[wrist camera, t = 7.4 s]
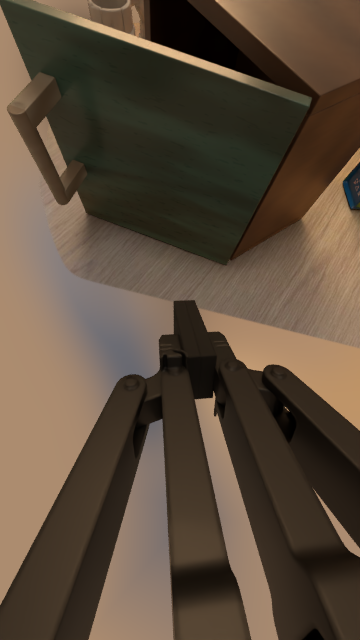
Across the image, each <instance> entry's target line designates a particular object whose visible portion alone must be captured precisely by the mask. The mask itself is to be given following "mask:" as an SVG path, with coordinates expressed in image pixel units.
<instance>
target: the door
mask: <svg viewBox="0 0 360 640" xmlns="http://www.w3.org/2000/svg"><path fill="white" fill-rule="evenodd" d="M0 5H1V8H2V10H3V13H4V15H5V18H6V20H7V22H8V25H9V27H10V29H11V32H12V34H13V37H14V39H15V42H16V44H17V47H18V49H19V51H20V54H21V56H22V59H23V61H24V63H25V66H26V68H27V71H28V73H29V76H30V78H31V80H32V81H31V82H30V83H29V84H28V85H27V86H26V87H25V88H24V89H23V90H22V91H21V92H20V93H19V95H18V96H17V97H16V98H15V99H14V100H13V101H12V102H11V103H10V104H9V105H8V107H7V111H8V113H9V114H10V116H11V118H12V120H13V122H14V124H15V126H16V127H17V129H18V131H19V133H20V135H21V137H22V138H23V140H24V142H25V144H26V146H27V147H28V149H29V151H30V153H31V155H32V157H33V159H34V160H35V162H36V164H37V166H38V168H39V169H40V171H41V173H42V175H43V177H44V179H45V181H46V182H47V184H48V186H49V188H50V190H51V192H52V193H53V195H54V197H55V199H56V201H57V203H59V204H60V205H65V204H67V203H68V202H69V201H70V199H71V198H72V197H73V195H74V194H75V192H76V191H77V192H78V194H79V196H80V199H81V201H82V204H83V206H84V208H85V211H86V213H88V214H91V215H94V216H96V217H99V218H101V219H104V220H107V221H109V222H112V223H115V224H117V225H120V226H123V227H125V228H128V229H131V230H133V231H136V232H139V233H141V234H144V235H147V236H149V237H152V238H155V239H157V240H160V241H163V242H165V243H168V244H171V245H173V246H176V247H179V248H181V249H184V250H187V251H189V252H192V253H195V254H197V255H200V256H203V257H205V258H208V259H211V260H213V261H216V262H219V263H221V264H224V265H227V263H228V261H229V259H230V257H231V255H232V253H233V251H234V250H235V248H236V246H237V244H238V242H239V240H240V238H241V236H242V234H243V232H244V231H245V229H246V227H247V225H248V223H249V221H250V219H251V217H252V215H253V213H254V212H255V210H256V208H257V206H258V204H259V202H260V200H261V198H262V196H263V194H264V193H265V191H266V189H267V187H268V185H269V183H270V181H271V179H272V177H273V175H274V174H275V172H276V170H277V168H278V166H279V164H280V162H281V160H282V158H283V156H284V155H285V153H286V151H287V149H288V147H289V145H290V143H291V141H292V139H293V137H294V136H295V134H296V132H297V130H298V128H299V126H300V124H301V122H302V120H303V118H304V117H305V115H306V113H307V111H308V109H309V107H310V104H311V100H312V98H311V97H308V96H305V95H303V94H300V93H297V92H294V91H291V90H288V89H285V88H283V87H280V86H277V85H274V84H271V83H268V82H265V81H262V80H260V79H257V78H254V77H251V76H248V75H245V74H242V73H240V72H237V71H234V70H231V69H228V68H225V67H222V66H219V65H217V64H214V63H211V62H208V61H205V60H202V59H199V58H196V57H194V56H191V55H188V54H185V53H182V52H179V51H176V50H174V49H171V48H168V47H165V46H162V45H159V44H156V43H153V42H151V41H148V40H145V39H142V38H139V37H136V36H133V35H131V34H128V33H125V32H122V31H119V30H116V29H113V28H110V27H108V26H105V25H102V24H99V23H96V22H93V21H90V20H87V19H85V18H82V17H79V16H76V15H73V14H70V13H67V12H65V11H62V10H59V9H56V8H53V7H50V6H47V5H44V4H41V3H39V2H36V1H33V0H0ZM45 116H46V117H47V119H48V121H49V124H50V126H51V129H52V131H53V134H54V136H55V138H56V141H57V143H58V146H59V148H60V150H61V153H62V155H63V158H64V160H65V163H66V165H67V168H66V170H65V171H64V173H63V174H62V175H61V177H59V175H58V173H57V171H56V169H55V167H54V164H53V162H52V160H51V158H50V156H49V154H48V152H47V149H46V147H45V145H44V143H43V141H42V139H41V137H40V135H39V132H38V131H37V128H36V127H37V126H38V125H39V124H40V122H41V121H42V120H43V119H44V118H45Z"/></svg>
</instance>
